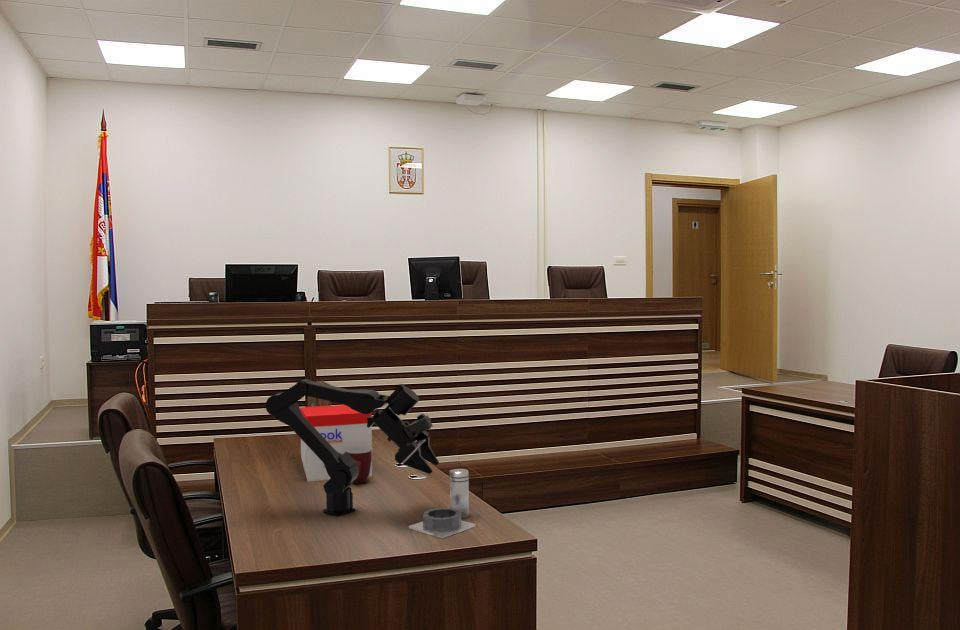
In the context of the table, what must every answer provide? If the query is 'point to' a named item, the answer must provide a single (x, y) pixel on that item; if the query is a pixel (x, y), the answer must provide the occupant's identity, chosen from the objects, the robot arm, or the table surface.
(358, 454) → the mug
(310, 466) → the red-topped cereal carton
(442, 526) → the ring sleeve
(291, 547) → the table surface
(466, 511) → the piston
